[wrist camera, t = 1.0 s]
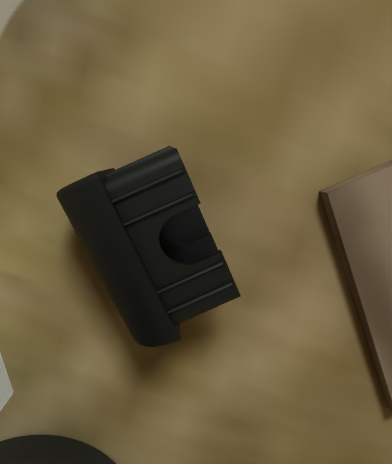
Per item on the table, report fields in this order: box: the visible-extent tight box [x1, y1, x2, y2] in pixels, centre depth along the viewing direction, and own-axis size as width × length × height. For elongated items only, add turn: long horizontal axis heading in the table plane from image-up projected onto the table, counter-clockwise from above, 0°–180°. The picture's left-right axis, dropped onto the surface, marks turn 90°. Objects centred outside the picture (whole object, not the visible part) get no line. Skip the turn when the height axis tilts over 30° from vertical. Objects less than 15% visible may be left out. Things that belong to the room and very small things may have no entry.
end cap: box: [57, 146, 240, 347], centre depth 21 cm, size 10×7×7 cm
